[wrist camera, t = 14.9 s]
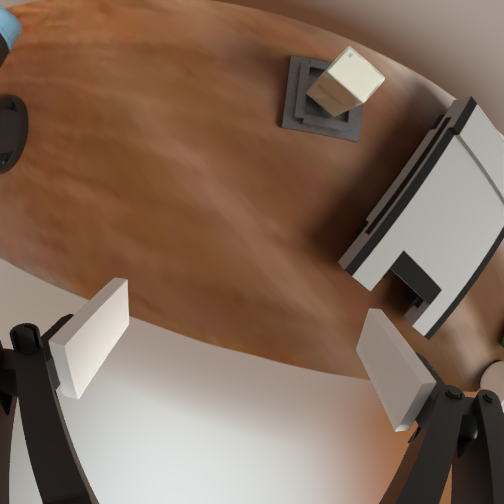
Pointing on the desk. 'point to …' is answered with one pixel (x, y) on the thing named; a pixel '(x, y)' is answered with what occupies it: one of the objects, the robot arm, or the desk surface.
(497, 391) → the mug
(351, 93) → the box
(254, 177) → the desk surface
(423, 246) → the game console
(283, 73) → the desk surface
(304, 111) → the collar
